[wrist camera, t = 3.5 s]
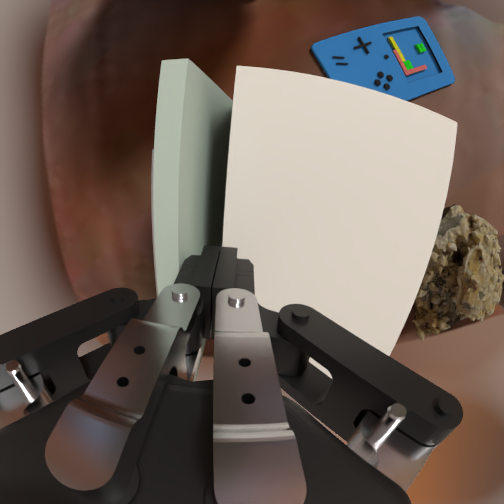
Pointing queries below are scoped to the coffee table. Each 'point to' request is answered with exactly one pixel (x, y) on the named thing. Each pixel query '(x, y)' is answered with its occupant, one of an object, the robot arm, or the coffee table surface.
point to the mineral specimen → (459, 273)
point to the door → (188, 168)
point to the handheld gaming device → (387, 58)
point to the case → (335, 197)
